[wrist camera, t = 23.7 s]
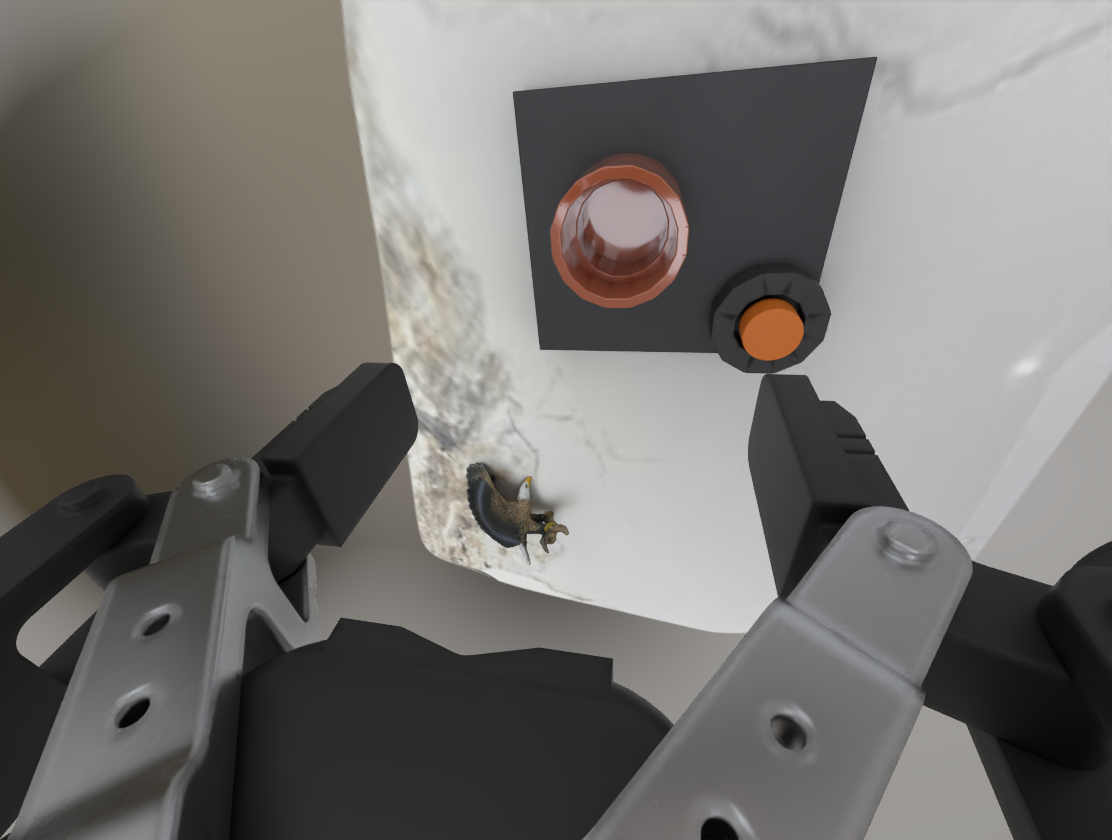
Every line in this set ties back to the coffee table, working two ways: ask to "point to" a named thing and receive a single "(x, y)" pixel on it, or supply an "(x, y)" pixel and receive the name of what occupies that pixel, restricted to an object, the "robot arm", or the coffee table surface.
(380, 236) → the coffee table surface
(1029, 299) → the coffee table surface
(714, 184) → the scale
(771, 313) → the button
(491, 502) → the eagle figurine
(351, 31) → the coffee table surface
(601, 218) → the brown cup
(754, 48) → the coffee table surface
